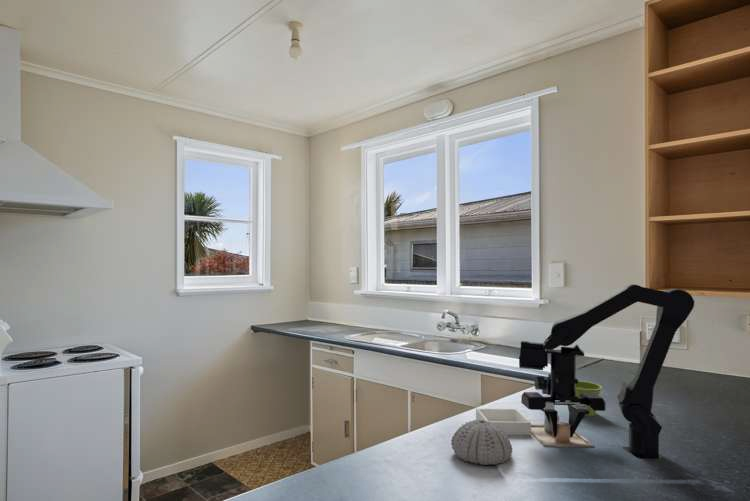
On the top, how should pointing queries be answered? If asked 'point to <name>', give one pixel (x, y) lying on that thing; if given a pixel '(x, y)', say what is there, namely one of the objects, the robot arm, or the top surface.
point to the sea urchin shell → (481, 443)
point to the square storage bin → (506, 420)
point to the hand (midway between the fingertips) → (562, 436)
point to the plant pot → (588, 388)
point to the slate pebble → (546, 424)
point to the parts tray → (549, 441)
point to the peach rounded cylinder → (563, 432)
